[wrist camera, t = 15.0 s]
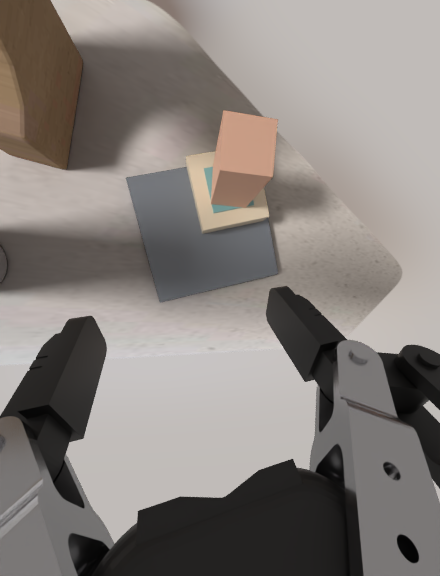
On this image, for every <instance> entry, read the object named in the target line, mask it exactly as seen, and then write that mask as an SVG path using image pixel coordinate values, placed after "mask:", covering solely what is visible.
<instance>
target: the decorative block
mask: <svg viewBox="0 0 440 576" xmlns="http://www.w3.org/2000/svg"><path fill="white" fill-rule="evenodd" d="M82 67H83V61H82V58H81V56H80V54H79V52H78V50H77V49H76V47H75V45H74V43H73V41H72V39H71V37H70V36H69V34H68V32H67V30H66V28H65V26H64V24H63V23H62V21H61V19H60V17H59V15H58V13H57V12H56V10H55V8H54V6H53V4H52V2H51V0H0V149H1V150H3V151H4V152H6V153H8V154H9V155H12V156H15V157H19V158H23V159H26V160H30V161H34V162H37V163H41V164H45V165H49V166H52V167H56V168H60V169H66V168H67V164H68V157H69V151H70V144H71V138H72V132H73V125H74V119H75V112H76V106H77V99H78V93H79V87H80V80H81V74H82Z"/></svg>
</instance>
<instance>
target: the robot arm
mask: <svg viewBox="0 0 440 576" xmlns="http://www.w3.org/2000/svg"><path fill="white" fill-rule="evenodd" d="M6 270H7V260H6V256H5V253H4V251H3V249H2V248H1V246H0V283H1V281H2V280H3V278H4V276H5V274H6ZM266 317H267V321H268V323H269V325H270V327H271V328H272V330H273V331H274V333H275V335H276V336H277V338H278V339H279V341H280V343H281V344H282V346H283V348H284V349H285V351H286V352H287V354H288V356H289V357H290V359H291V360H292V362H293V363H294V365H295V367H296V368H297V370H298V372H299V373H300V375H301V376H302V378H303V380H304V381H305V382H307V381H311V380H315V381H316V382H317V384H318V387H317V392H316V418H315V437H314V442H313V446H312V450H311V457H310V470H306V469H302V468H296V466H295V463H294V461H293V459H291V460H288V461H285V462H282V463H279V464H276V465H273V466H270V467H267V468H264V469H261V470H259V471H257V472H256V473H255V474H254V475H252V476H251V477H250V478H248V479H247V480H246V481H245V482H243V483H242V484H241V485H240V486H238V487H237V488H236V489H235V490H234V491H232V492H231V493H230V494H228V495H227V496H226V497H223V498H206V497H205V498H204V497H178V498H175V499H172V500H170V501H167V502H164V503H161V504H158V505H155V506H152V507H149V508H146V509H143V510H140V511H138V521H137V523H136V524H135V525H134V526H132V527H131V528H130V529H129V530H128V531H127V532H126V533H125V534H124V535H123V536H122V537H121V538H120V539H119V540H118V541H117V542H116V543H115V544H114V542H113V540H112V538H111V536H110V534H109V532H108V530H107V528H106V527H105V525H104V523H103V522H102V520H101V519H100V517H99V516H98V515H97V514H96V513H95V511H94V510H93V509H92V507H91V505H90V503H89V501H88V499H87V497H86V495H85V493H84V491H83V488H82V486H81V484H80V482H79V480H78V478H77V476H76V474H75V471H74V469H73V467H72V465H71V463H70V461H69V459H68V457H67V456H66V451H67V448H68V444H69V442H72V441H76V440H79V439H83V438H84V434H85V430H86V427H87V423H88V419H89V415H90V412H91V408H92V405H93V401H94V397H95V394H96V390H97V386H98V382H99V379H100V375H101V371H102V368H103V364H104V360H105V357H106V351H107V347H106V342H105V339H104V337H103V335H102V333H101V331H100V329H99V327H98V325H97V323H96V321H95V319H94V318H93V317H92V316H85V317H79V318H72V319H69V320H68V321H67V322H66V324H65V326H64V328H63V330H62V331H61V333H59V334H55V335H54V336H53V337H52V338H51V339H50V340H49V341H47V342H46V343H45V344H44V345H43V347H42V348H41V350H40V352H39V353H38V355H37V357H36V360H34V361H33V363H32V365H31V366H30V368H29V369H30V370H29V371H27V373H26V375H25V376H24V378H23V380H22V381H21V383H20V385H19V386H18V388H17V390H16V391H15V393H14V395H13V396H12V398H11V399H10V401H9V403H8V404H7V406H6V408H5V409H4V411H3V413H2V414H1V416H0V576H440V503H439V499H438V496H437V493H436V490H435V487H434V484H433V481H432V479H433V480H434V482H435V483H436V484H437V486H438V487H439V488H440V423H439V422H438V421H437V420H436V419H435V418H434V417H433V416H432V415H431V414H430V413H429V412H428V411H427V410H426V409H425V408H424V407H423V405H424V404H425V403H426V402H427V401H429V400H430V401H431V402H432V403H433V404H434V405H435V406H436V407H437V408H438V409H439V410H440V354H438V353H436V352H434V351H432V350H430V349H428V348H425V347H422V346H418V345H407V346H405V347H404V348H403V349H402V350H401V351H400V353H399V354H390V353H377V352H375V351H374V350H373V349H372V348H370V347H369V346H367V345H365V344H363V343H361V342H358V341H353V340H347V339H346V338H345V337H344V336H343V335H342V334H341V333H340V332H339V331H338V330H337V329H336V328H335V327H334V326H333V325H332V324H331V323H330V322H329V321H328V320H327V319H326V318H325V317H324V316H323V315H321V313H320V312H319V311H318V310H317V309H315V307H314V306H313V305H312V304H311V303H310V302H309V301H308V300H307V299H305V298H303V297H302V296H300V295H295V294H294V293H293V291H292V290H291V289H290V288H289V287H287V286H283V287H277V288H272V289H271V290H270V292H269V298H268V304H267V310H266Z"/></svg>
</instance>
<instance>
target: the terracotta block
mask: <svg viewBox="0 0 440 576" xmlns="http://www.w3.org/2000/svg"><path fill="white" fill-rule="evenodd" d="M277 122H278V120H277V119H272V118H266V117H261V116H255V115H249V114H243V113H237V112H231V111H226V110H223V115H222V121H221V126H220V131H219V136H218V142H217V147H216V152H215V158H214V163H213V172H212V190H211V204H214V205H223V206H233V207H242V208H246V207H247V206H248V205H249V203H250V202H251V201H252V200H253V199H254V198H255V197H256V195H257V194H258V193H259V192H260V191H261V190H262V189H263V188H264V186H265V185H266V184H267V183H268V182H269V181H270V180H271V179H272V177H273V170H274V158H275V146H276V134H277Z"/></svg>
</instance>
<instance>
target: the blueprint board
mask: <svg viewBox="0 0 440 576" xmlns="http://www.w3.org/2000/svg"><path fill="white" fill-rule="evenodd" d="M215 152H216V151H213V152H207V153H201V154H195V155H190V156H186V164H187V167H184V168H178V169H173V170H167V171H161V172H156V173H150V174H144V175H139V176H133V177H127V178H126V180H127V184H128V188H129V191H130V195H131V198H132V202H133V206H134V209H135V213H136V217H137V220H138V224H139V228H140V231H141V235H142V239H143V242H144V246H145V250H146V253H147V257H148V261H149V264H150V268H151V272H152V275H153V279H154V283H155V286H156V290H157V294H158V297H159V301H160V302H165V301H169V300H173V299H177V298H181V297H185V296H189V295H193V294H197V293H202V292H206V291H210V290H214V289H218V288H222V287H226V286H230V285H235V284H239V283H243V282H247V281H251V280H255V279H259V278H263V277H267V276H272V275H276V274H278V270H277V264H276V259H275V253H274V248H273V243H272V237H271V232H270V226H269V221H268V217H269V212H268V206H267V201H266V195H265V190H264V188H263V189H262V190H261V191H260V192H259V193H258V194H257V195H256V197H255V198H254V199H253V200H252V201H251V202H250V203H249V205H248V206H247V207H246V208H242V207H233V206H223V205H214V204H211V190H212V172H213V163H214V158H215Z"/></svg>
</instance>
